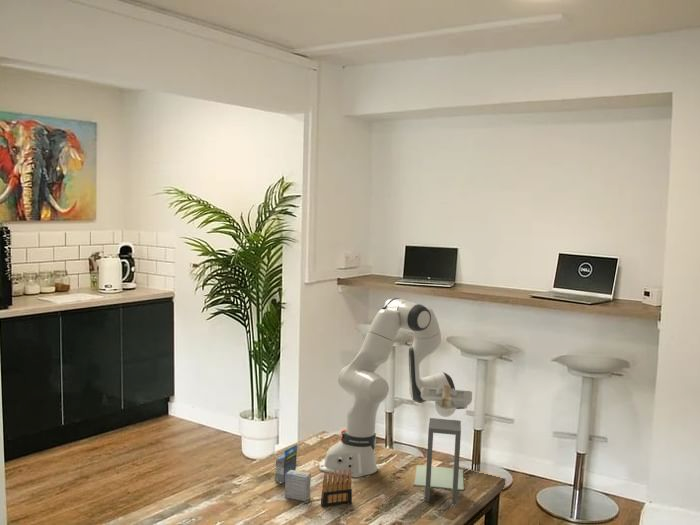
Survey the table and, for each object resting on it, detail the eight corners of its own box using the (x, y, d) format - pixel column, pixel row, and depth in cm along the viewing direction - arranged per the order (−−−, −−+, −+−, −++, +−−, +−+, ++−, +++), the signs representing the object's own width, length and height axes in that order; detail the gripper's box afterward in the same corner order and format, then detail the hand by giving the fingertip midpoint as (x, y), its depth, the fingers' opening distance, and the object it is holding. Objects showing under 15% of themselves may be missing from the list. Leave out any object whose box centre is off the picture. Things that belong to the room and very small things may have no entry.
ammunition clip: (349, 501, 234) (351, 467, 234) (351, 503, 233) (353, 469, 232) (320, 505, 230) (322, 470, 229) (322, 507, 229) (323, 472, 228)
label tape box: (286, 473, 256) (288, 441, 255) (296, 476, 255) (297, 443, 254) (274, 481, 248) (275, 448, 248) (283, 484, 247) (285, 450, 246)
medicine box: (310, 497, 236) (311, 472, 236) (305, 502, 232) (306, 477, 232) (289, 493, 239) (290, 469, 238) (284, 498, 235) (285, 473, 234)
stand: (424, 501, 237) (428, 428, 235) (426, 487, 249) (429, 418, 247) (456, 504, 235) (460, 430, 234) (456, 490, 247) (460, 420, 245)
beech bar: (441, 406, 250) (442, 398, 250) (442, 392, 270) (443, 385, 270) (450, 407, 250) (450, 399, 249) (450, 393, 269) (450, 385, 269)
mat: (413, 485, 251) (414, 484, 250) (416, 465, 270) (416, 464, 270) (463, 490, 248) (463, 489, 248) (462, 470, 268) (462, 469, 268)
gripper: (421, 389, 281) (420, 380, 269) (471, 393, 278) (473, 384, 266) (420, 404, 279) (419, 395, 266) (470, 409, 276) (472, 400, 263)
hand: (446, 390), depth 266 cm, fingers closed on beech bar, 3 cm apart
